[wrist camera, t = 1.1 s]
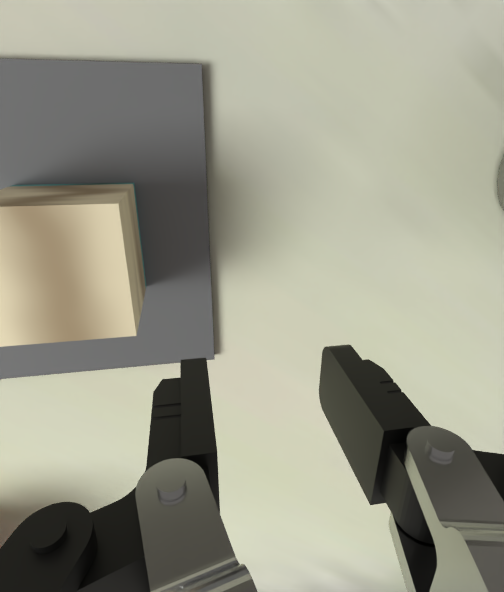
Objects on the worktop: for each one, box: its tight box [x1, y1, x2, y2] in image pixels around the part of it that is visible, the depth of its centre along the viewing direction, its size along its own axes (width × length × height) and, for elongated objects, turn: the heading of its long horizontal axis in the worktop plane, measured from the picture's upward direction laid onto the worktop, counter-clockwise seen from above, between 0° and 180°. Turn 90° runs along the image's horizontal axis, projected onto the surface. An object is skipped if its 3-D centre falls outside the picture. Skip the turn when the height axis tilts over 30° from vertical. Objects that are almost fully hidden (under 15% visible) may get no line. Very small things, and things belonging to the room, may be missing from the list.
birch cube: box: [0, 183, 146, 347], centre depth 22 cm, size 7×7×7 cm
